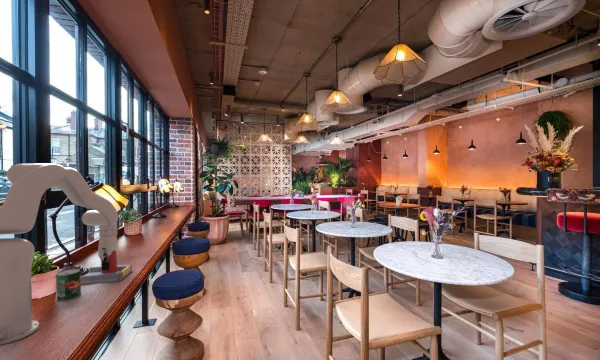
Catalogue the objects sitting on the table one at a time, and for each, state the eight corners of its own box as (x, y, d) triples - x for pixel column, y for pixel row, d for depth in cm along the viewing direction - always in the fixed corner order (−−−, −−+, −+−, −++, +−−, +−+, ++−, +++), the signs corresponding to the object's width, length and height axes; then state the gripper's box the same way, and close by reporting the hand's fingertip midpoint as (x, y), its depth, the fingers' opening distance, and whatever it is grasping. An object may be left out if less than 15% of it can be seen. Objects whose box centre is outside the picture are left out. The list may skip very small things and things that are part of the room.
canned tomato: (62, 294, 117) (61, 270, 117) (84, 291, 120) (83, 267, 119) (52, 303, 109) (51, 276, 109) (76, 299, 112) (75, 273, 112)
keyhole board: (119, 281, 131) (119, 274, 131) (72, 285, 127) (72, 277, 127) (132, 270, 146) (132, 263, 146) (91, 273, 142) (91, 266, 142)
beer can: (98, 276, 134) (97, 252, 134) (109, 271, 141) (109, 249, 141) (109, 277, 133) (108, 253, 133) (120, 272, 140) (119, 249, 139)
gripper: (108, 229, 144) (109, 262, 145) (90, 236, 127) (91, 274, 128) (124, 228, 146) (124, 261, 146) (108, 235, 129) (109, 272, 129)
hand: (109, 267), depth 137 cm, fingers closed on beer can, 6 cm apart
